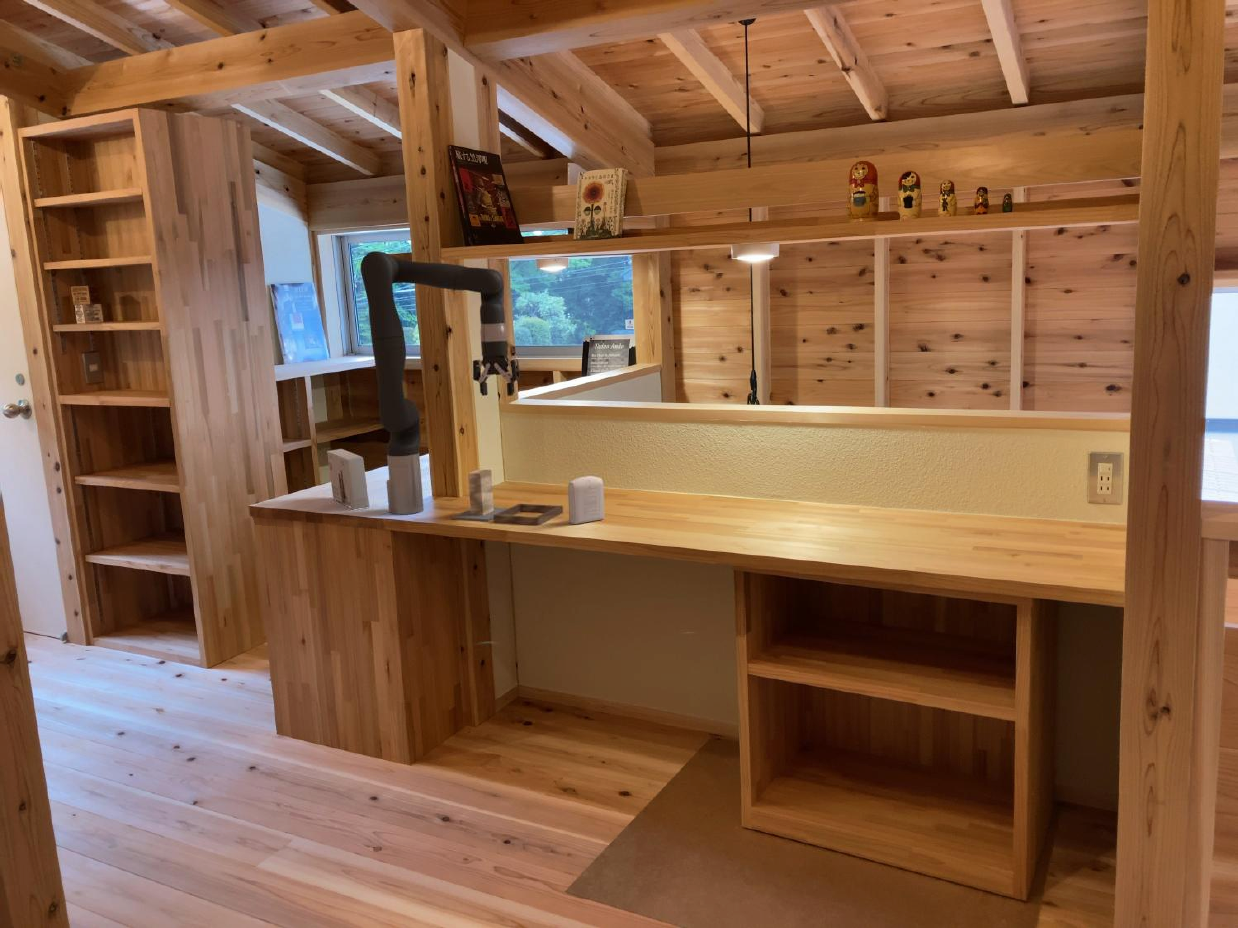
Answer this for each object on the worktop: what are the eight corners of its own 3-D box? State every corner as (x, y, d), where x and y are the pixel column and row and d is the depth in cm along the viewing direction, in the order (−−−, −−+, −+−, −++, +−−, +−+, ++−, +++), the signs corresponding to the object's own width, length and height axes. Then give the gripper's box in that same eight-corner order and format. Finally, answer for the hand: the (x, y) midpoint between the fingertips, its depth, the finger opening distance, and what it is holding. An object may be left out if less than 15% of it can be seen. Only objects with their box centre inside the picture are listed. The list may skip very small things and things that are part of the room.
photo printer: (598, 516, 268) (596, 473, 265) (607, 519, 264) (605, 475, 262) (566, 522, 262) (564, 478, 260) (575, 525, 259) (572, 480, 256)
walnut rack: (493, 522, 266) (493, 515, 266) (519, 510, 280) (519, 503, 279) (538, 525, 261) (538, 518, 260) (563, 512, 274) (562, 505, 274)
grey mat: (451, 519, 272) (451, 517, 272) (477, 508, 284) (477, 506, 284) (488, 521, 267) (488, 519, 267) (512, 510, 280) (512, 508, 280)
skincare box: (331, 499, 306) (326, 450, 303) (347, 497, 309) (343, 448, 306) (352, 510, 289) (347, 458, 286) (370, 507, 292) (365, 456, 289)
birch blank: (471, 514, 274) (468, 473, 272) (481, 509, 279) (479, 469, 277) (483, 515, 272) (480, 473, 270) (493, 510, 278) (491, 469, 276)
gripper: (465, 340, 276) (469, 397, 279) (509, 339, 270) (512, 397, 273) (479, 339, 283) (482, 394, 286) (522, 338, 277) (525, 394, 280)
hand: (497, 395), depth 279 cm, fingers open, 8 cm apart
